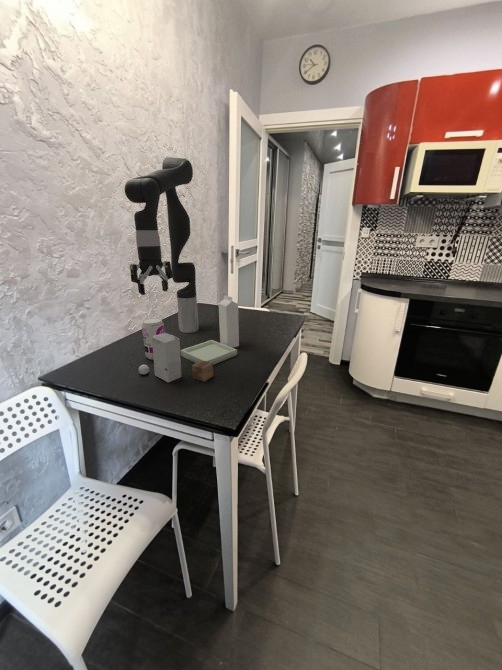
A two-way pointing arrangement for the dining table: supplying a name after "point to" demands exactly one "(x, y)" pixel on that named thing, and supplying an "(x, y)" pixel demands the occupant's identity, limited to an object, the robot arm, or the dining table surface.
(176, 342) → the skincare box
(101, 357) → the dining table surface
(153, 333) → the supplement can
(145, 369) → the white egg
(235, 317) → the milk
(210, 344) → the tray
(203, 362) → the walnut block
